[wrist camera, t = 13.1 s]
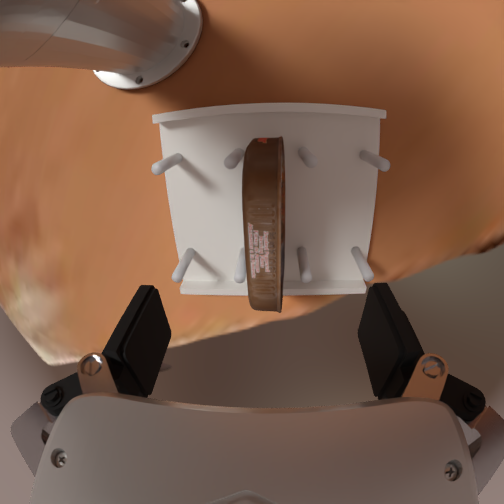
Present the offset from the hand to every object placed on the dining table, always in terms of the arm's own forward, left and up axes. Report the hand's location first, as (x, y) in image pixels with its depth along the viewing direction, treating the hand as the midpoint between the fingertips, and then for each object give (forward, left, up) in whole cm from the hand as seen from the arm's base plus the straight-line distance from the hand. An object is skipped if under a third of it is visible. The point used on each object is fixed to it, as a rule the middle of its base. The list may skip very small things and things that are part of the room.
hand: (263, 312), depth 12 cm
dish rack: (+1, 0, -17) cm, 17 cm away
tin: (+1, 0, -16) cm, 16 cm away
